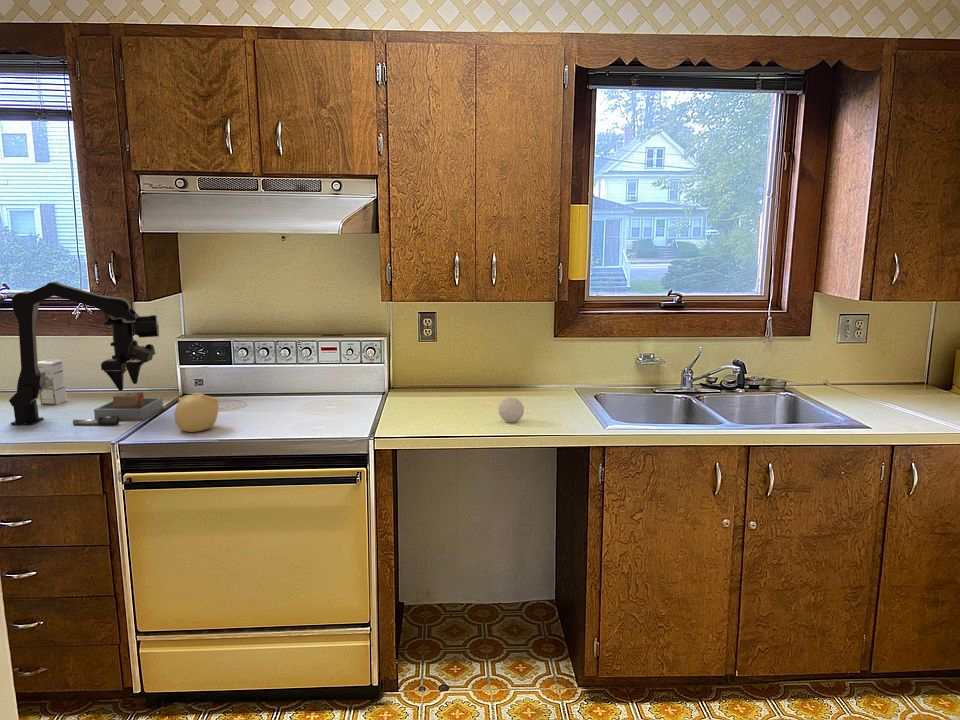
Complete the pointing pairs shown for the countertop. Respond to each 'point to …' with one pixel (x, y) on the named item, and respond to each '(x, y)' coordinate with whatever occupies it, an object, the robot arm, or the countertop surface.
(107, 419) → the pin gauge
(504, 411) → the ball
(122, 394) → the block
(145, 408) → the tray
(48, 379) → the syrup box
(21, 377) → the robot arm
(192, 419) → the sculpture
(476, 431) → the countertop surface
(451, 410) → the countertop surface
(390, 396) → the countertop surface
